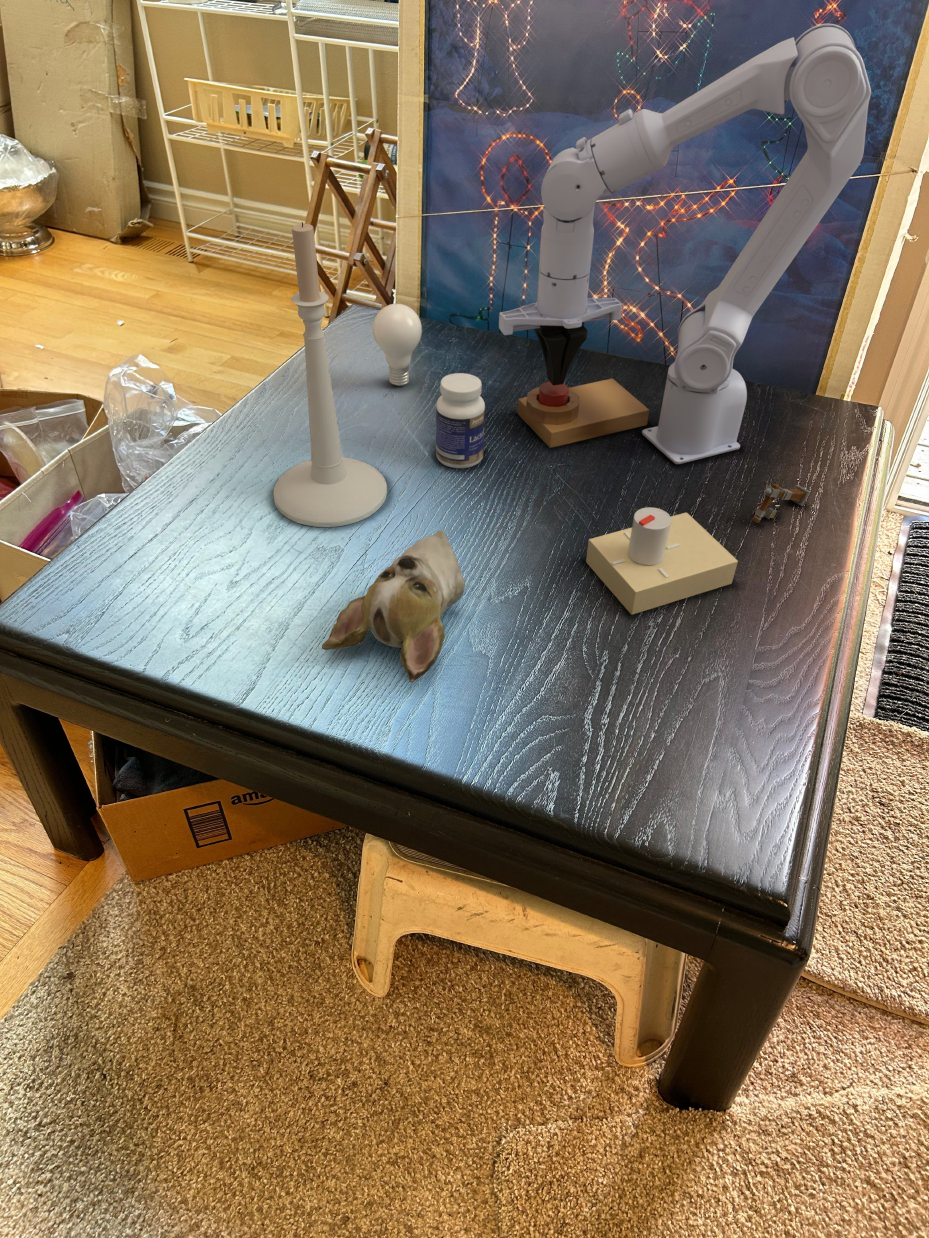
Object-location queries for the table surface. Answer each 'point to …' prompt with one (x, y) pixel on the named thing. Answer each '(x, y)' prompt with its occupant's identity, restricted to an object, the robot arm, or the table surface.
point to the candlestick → (323, 423)
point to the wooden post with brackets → (774, 491)
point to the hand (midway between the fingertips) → (555, 381)
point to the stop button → (553, 394)
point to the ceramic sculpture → (406, 605)
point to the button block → (583, 413)
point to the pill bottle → (460, 421)
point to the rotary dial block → (662, 566)
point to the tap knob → (649, 536)
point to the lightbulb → (397, 339)
